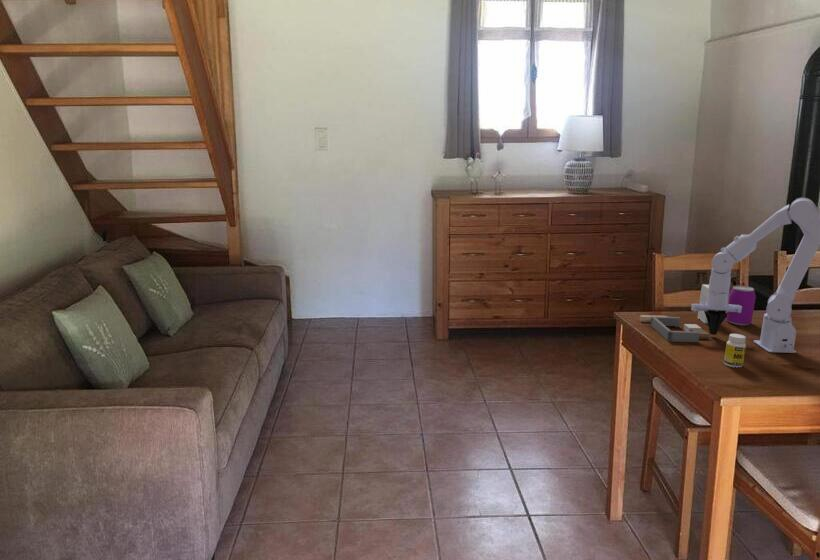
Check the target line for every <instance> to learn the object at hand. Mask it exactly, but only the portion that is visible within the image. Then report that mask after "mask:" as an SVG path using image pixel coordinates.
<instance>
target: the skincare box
mask: <svg viewBox="0 0 820 560" xmlns="http://www.w3.org/2000/svg"><path fill="white" fill-rule="evenodd" d="M708 289H709V284H704V283H703V284H701V288H700V297H699V303H707V297H708ZM697 312H698V313H697V319H698V320H699V319H700V320H699V321H701V323H704V324H708V321H707V318H706V315H705V313H704V311H697Z"/></svg>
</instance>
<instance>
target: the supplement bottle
mask: <svg viewBox="0 0 820 560" xmlns="http://www.w3.org/2000/svg"><path fill="white" fill-rule="evenodd" d="M746 339H747V337H746V336H745V335H743V334H739V333H730V334H729V336H728V341H726V346H725V352H724V359H723V364H724V365H725V366H728V367H730V368H735V367H736V368H737V369H738V367H739V368H742V367H743V366H744V362H745V361H744V360H745V353H746V347H747V344H746ZM736 368H735V369H736Z"/></svg>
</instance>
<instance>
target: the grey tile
mask: <svg viewBox="0 0 820 560" xmlns="http://www.w3.org/2000/svg"><path fill="white" fill-rule="evenodd" d="M682 329H683V330H684V331H688V332H691V329H696V330H703V329H702V327H701V326H700V325H698V324H697V323H693V324H691V323H683V328H682Z"/></svg>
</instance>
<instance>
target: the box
mask: <svg viewBox="0 0 820 560" xmlns="http://www.w3.org/2000/svg"><path fill="white" fill-rule="evenodd" d="M681 319H682V318H681V317H680V316H668V317H651V322H650V326H651V327H652V329H654V330H655V331H656V332H657V333H658V334H660V335H661V336H662V337H663V338H664V339H665V340H666V342H671V343H673V342H674V343H675V342H677V343H699V340H700V339H699V332H688V331H685V330H684V331H683V330H681V331H679V330H671V329H670V327H666V326H675V327H674V328H680V326H681Z"/></svg>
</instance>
